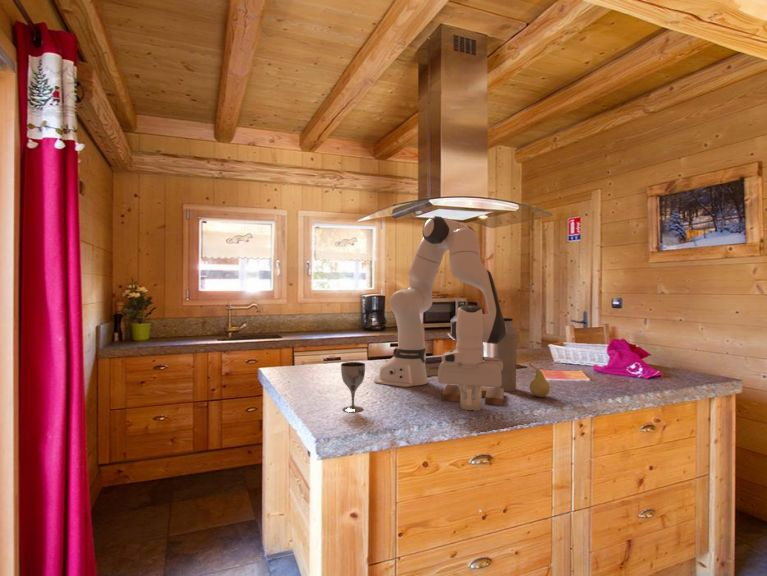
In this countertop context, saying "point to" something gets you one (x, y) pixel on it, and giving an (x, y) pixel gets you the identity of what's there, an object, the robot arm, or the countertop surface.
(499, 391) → the brown wooden board
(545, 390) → the fruit
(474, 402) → the beige ceramic cup
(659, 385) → the countertop surface
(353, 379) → the wine glass
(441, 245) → the robot arm
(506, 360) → the thermos bottle
